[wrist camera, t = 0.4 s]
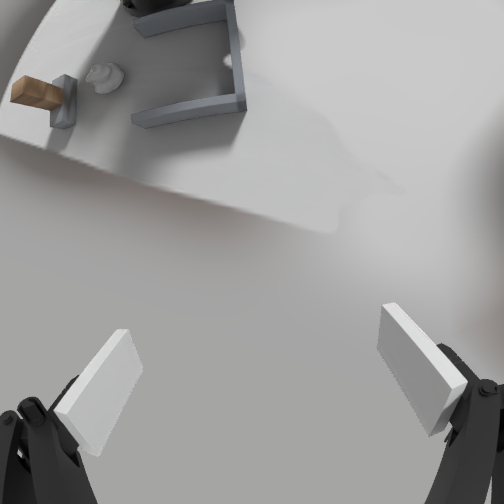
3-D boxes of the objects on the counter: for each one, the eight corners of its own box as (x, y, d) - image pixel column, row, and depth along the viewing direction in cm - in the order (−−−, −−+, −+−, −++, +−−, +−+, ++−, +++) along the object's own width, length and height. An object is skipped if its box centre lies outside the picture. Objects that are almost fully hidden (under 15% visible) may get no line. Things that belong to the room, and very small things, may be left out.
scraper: (65, 85, 33) (15, 67, 19) (77, 79, 32) (27, 58, 19) (63, 129, 35) (8, 120, 21) (75, 124, 35) (20, 112, 21)
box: (144, 33, 31) (133, 20, 26) (235, 13, 30) (233, -3, 25) (145, 128, 35) (131, 122, 30) (247, 110, 35) (245, 100, 30)
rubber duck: (123, 96, 34) (98, 82, 26) (91, 97, 34) (64, 86, 26) (132, 66, 32) (109, 48, 25) (100, 69, 32) (75, 54, 24)
